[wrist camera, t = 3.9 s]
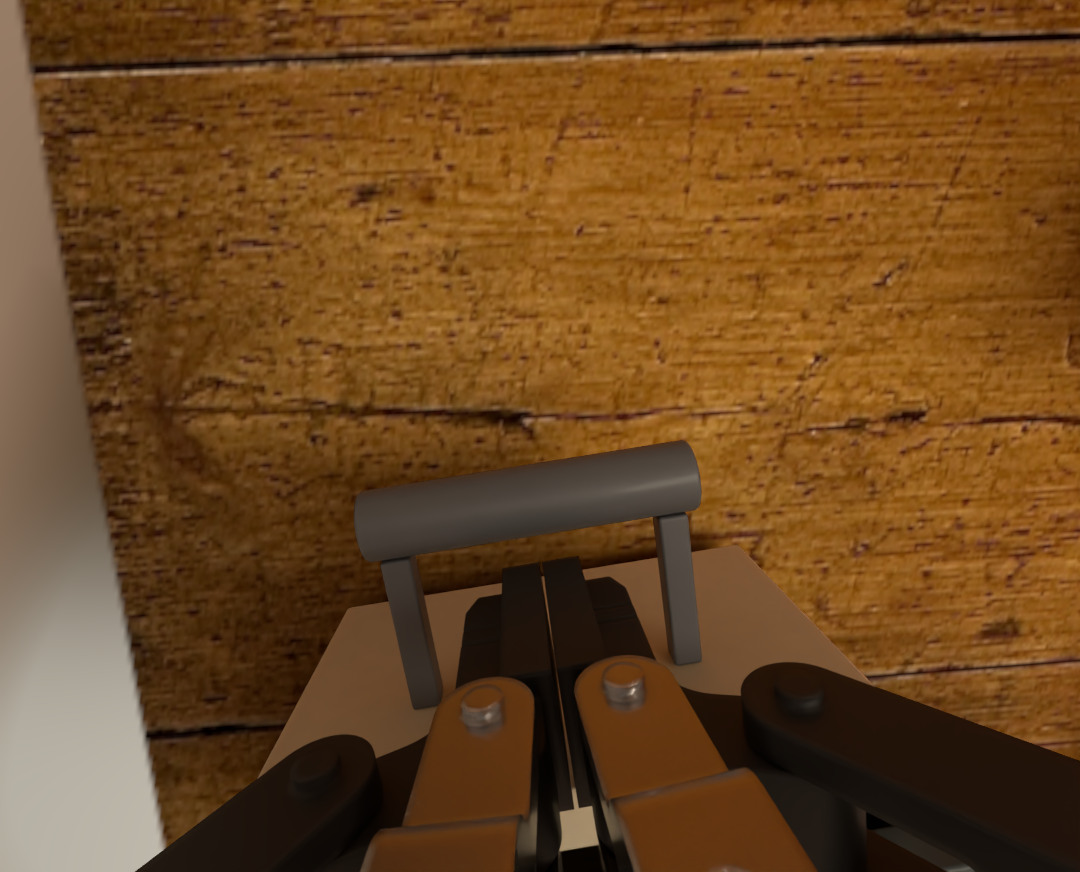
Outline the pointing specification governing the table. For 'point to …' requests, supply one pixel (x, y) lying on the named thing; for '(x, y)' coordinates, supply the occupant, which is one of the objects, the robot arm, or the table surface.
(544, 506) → the storage drawer
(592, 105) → the table surface
